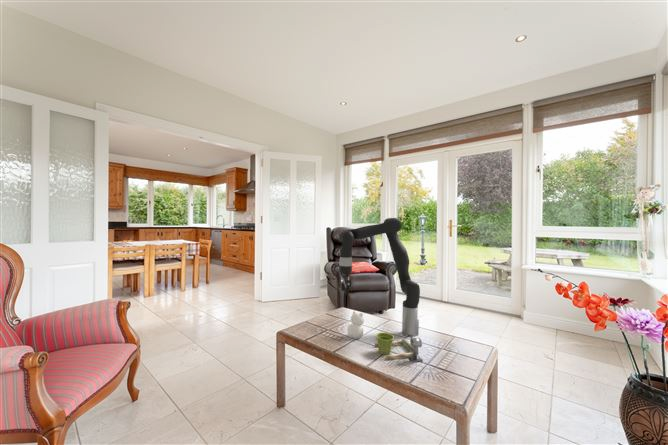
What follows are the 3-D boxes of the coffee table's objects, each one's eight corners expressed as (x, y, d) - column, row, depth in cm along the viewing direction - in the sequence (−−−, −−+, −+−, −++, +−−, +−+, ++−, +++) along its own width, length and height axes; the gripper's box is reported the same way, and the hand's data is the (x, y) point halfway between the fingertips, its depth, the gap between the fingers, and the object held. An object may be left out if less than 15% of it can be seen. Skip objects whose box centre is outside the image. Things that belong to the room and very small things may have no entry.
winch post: (417, 356, 138) (417, 331, 138) (422, 361, 133) (423, 335, 133) (404, 357, 136) (405, 332, 136) (409, 362, 131) (410, 336, 132)
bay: (403, 343, 153) (403, 338, 153) (418, 356, 138) (418, 350, 138) (374, 346, 149) (374, 340, 149) (386, 359, 134) (386, 353, 134)
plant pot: (395, 350, 144) (395, 334, 144) (391, 358, 135) (391, 341, 136) (378, 347, 148) (378, 331, 148) (373, 354, 139) (374, 337, 140)
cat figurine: (366, 336, 162) (367, 312, 162) (354, 342, 153) (355, 316, 153) (355, 332, 168) (356, 308, 168) (342, 337, 159) (343, 312, 159)
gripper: (355, 266, 150) (354, 295, 150) (348, 263, 164) (347, 289, 164) (342, 266, 148) (341, 295, 148) (336, 263, 162) (335, 289, 162)
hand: (345, 292), depth 156 cm, fingers open, 8 cm apart
